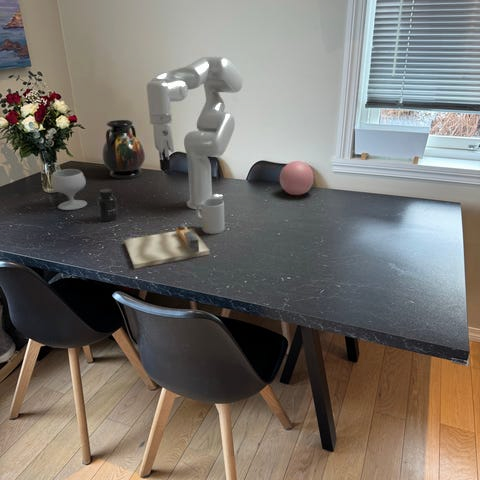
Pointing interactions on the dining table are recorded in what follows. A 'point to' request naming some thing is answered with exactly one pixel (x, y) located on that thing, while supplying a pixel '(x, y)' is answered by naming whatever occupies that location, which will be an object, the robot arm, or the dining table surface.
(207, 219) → the mug
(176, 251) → the pivot board
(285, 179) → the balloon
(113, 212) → the supplement bottle
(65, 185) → the chalice
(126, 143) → the amphora vase
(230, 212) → the dining table surface
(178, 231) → the link
